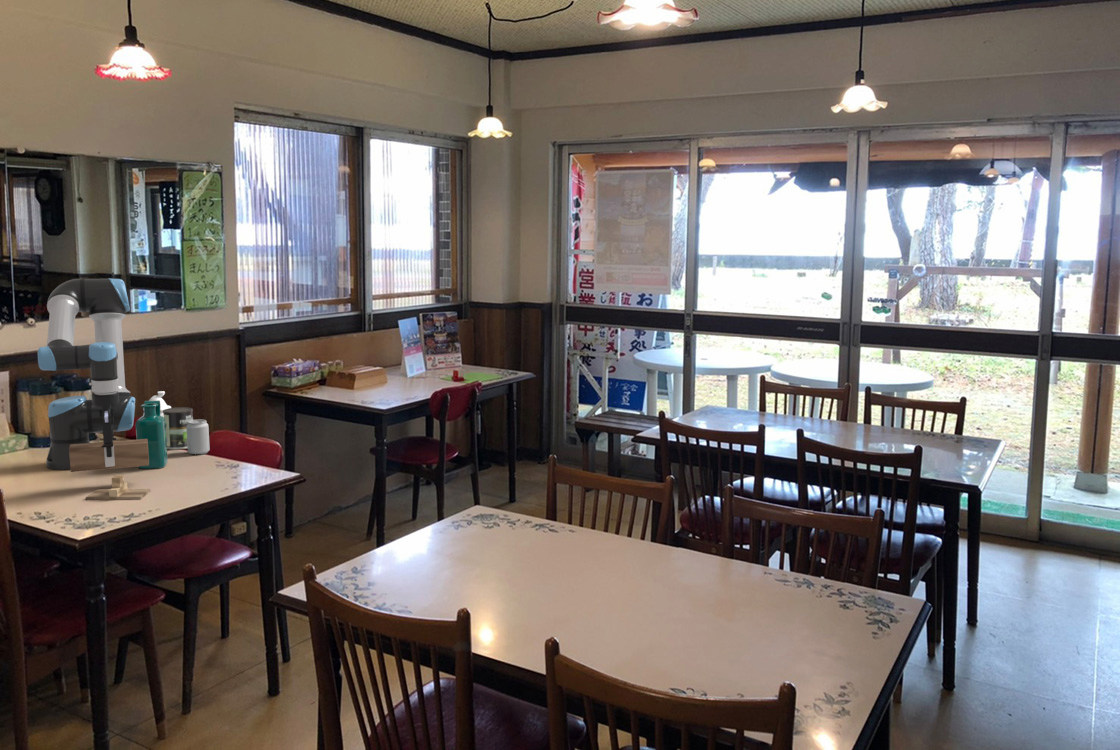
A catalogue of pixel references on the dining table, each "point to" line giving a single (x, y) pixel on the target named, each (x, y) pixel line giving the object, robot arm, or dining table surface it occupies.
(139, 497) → the fulcrum
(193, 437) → the can
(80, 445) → the beam
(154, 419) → the green bottle
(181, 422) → the coffee can
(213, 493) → the dining table surface
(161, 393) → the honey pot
